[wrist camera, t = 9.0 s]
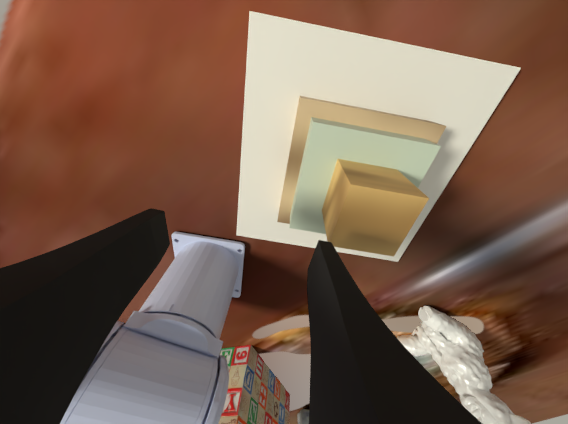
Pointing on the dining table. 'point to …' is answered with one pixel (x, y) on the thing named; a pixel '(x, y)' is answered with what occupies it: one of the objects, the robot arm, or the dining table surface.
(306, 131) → the oak base block
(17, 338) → the robot arm
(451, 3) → the dining table surface
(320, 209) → the sage top block
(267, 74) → the linen mat
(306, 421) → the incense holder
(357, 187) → the ochre cube
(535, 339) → the dining table surface
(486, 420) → the white creature statuette
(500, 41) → the dining table surface
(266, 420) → the stack of blocks
